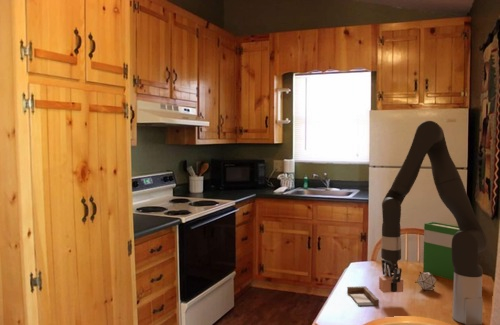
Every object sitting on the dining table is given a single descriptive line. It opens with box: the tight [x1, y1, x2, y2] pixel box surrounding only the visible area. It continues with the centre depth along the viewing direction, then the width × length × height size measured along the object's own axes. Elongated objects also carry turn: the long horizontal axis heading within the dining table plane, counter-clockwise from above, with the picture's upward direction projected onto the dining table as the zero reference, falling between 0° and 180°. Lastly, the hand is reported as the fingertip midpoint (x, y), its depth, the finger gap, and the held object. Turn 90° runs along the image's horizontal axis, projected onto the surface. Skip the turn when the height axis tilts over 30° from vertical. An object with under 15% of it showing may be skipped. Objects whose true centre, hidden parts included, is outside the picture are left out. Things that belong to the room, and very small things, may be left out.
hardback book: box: [422, 221, 460, 281], centre depth 204 cm, size 18×7×24 cm, turn 36°
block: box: [378, 275, 404, 294], centre depth 171 cm, size 4×8×5 cm, turn 94°
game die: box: [414, 271, 439, 292], centre depth 185 cm, size 9×8×10 cm
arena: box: [346, 285, 380, 307], centre depth 176 cm, size 15×8×2 cm, turn 4°
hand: (391, 289), depth 171 cm, fingers closed on block, 4 cm apart
